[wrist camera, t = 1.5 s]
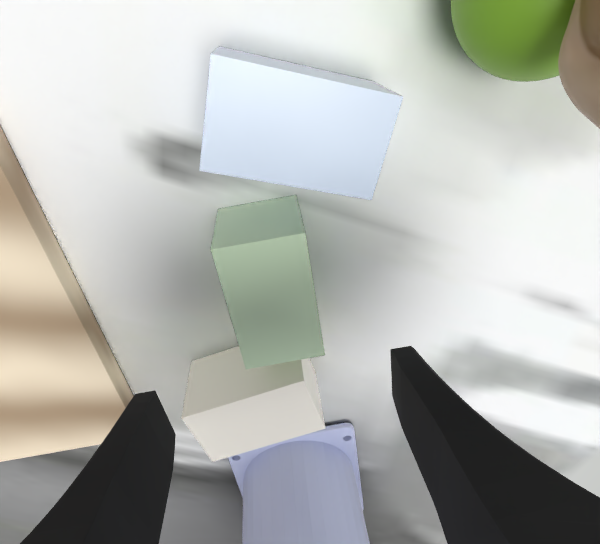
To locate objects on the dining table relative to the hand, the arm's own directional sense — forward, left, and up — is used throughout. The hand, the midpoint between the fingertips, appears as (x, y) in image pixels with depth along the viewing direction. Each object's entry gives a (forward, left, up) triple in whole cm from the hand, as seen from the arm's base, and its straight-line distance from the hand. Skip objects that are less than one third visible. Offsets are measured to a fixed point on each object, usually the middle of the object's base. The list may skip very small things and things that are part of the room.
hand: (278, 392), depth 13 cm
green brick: (0, 0, -9) cm, 9 cm away
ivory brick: (-7, +2, -9) cm, 11 cm away
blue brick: (+6, -2, -9) cm, 11 cm away
